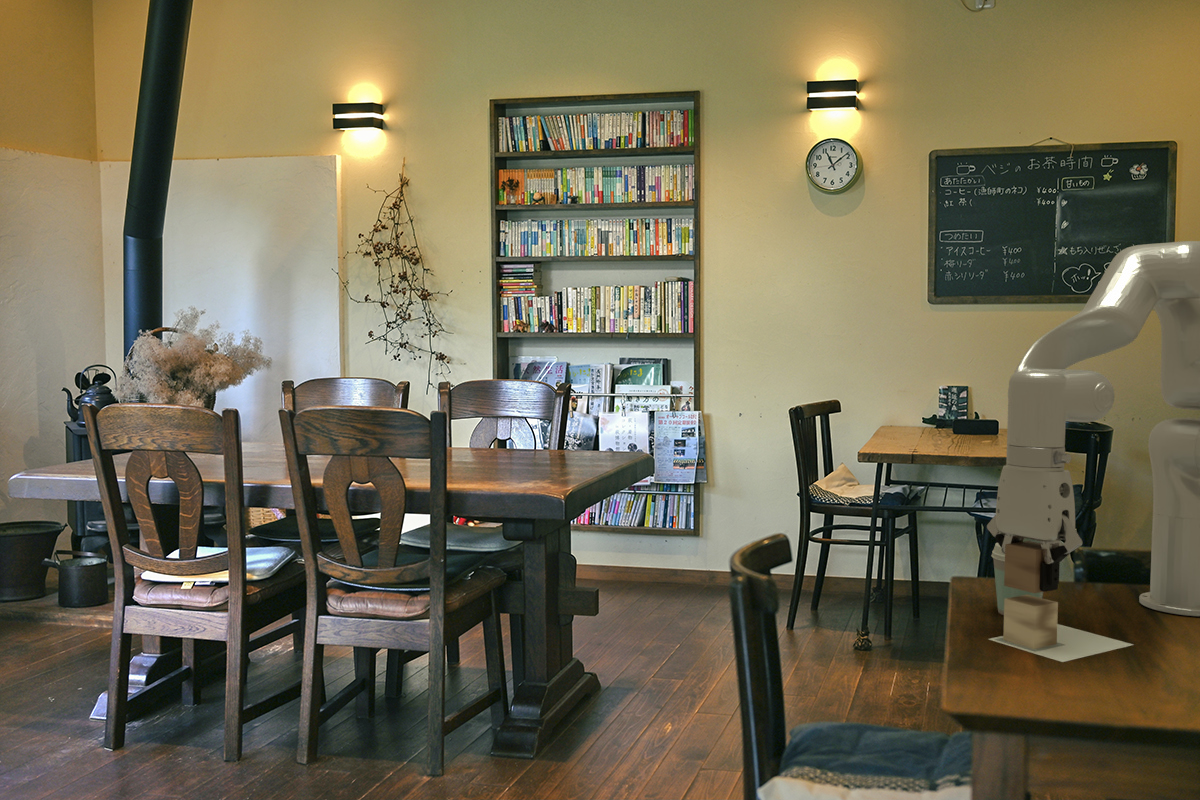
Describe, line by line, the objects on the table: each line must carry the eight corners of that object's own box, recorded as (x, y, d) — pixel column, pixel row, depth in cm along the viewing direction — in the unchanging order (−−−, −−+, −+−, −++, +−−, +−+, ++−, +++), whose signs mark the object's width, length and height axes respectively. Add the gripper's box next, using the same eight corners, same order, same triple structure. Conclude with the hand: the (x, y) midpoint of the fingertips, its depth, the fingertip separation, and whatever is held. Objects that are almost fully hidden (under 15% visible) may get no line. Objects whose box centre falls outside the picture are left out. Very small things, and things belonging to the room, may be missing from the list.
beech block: (1026, 635, 146) (1027, 594, 146) (1056, 644, 142) (1057, 602, 142) (1003, 639, 144) (1004, 598, 144) (1033, 649, 140) (1035, 606, 139)
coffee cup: (1054, 630, 153) (1056, 552, 153) (994, 626, 155) (997, 550, 155) (1041, 615, 162) (1043, 541, 161) (985, 612, 164) (987, 539, 163)
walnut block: (1026, 581, 146) (1028, 540, 146) (1057, 589, 142) (1059, 547, 141) (1004, 585, 143) (1005, 544, 143) (1034, 593, 139) (1036, 550, 139)
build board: (1058, 631, 152) (1058, 623, 152) (1133, 653, 142) (1134, 644, 142) (987, 647, 144) (987, 638, 144) (1062, 670, 134) (1062, 661, 134)
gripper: (1107, 463, 136) (1103, 596, 137) (1001, 451, 151) (998, 571, 152) (1073, 466, 132) (1068, 602, 133) (967, 453, 147) (964, 576, 148)
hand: (1031, 584), depth 142 cm, fingers closed on walnut block, 5 cm apart
